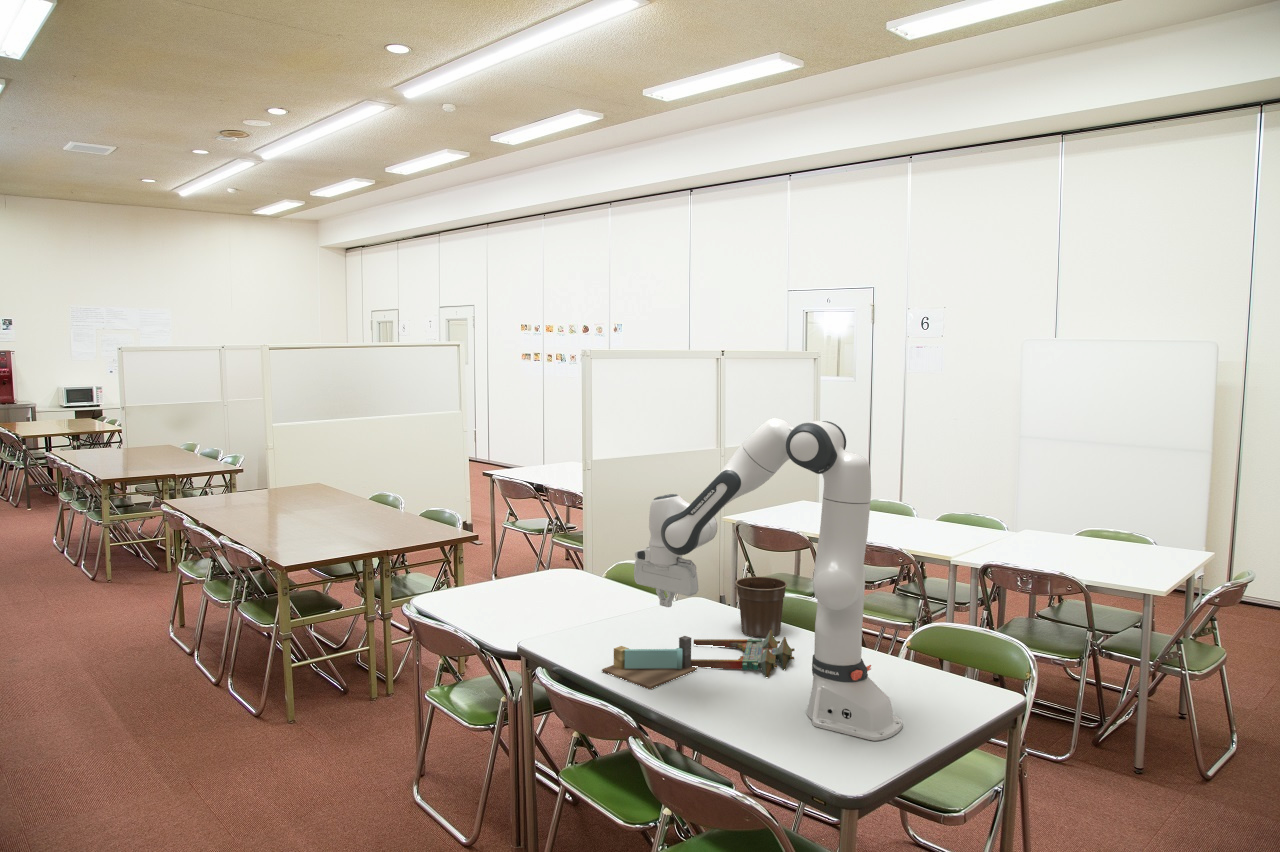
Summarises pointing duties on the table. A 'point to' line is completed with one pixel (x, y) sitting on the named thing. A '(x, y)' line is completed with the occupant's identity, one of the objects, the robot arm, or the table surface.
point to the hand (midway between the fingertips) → (665, 606)
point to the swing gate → (653, 658)
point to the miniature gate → (749, 654)
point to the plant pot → (761, 605)
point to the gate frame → (651, 675)
